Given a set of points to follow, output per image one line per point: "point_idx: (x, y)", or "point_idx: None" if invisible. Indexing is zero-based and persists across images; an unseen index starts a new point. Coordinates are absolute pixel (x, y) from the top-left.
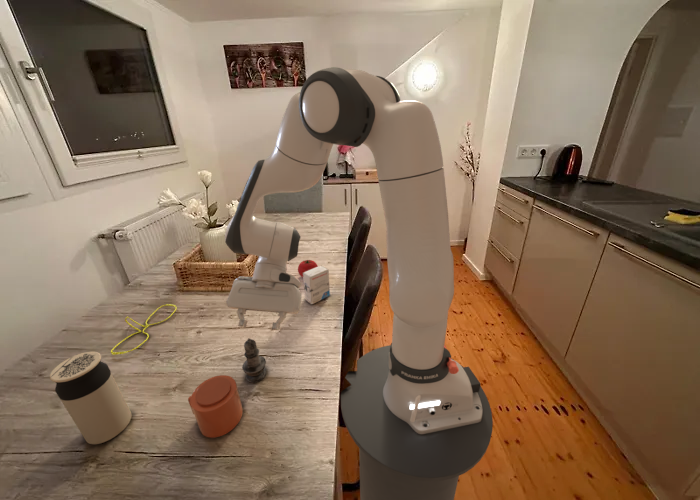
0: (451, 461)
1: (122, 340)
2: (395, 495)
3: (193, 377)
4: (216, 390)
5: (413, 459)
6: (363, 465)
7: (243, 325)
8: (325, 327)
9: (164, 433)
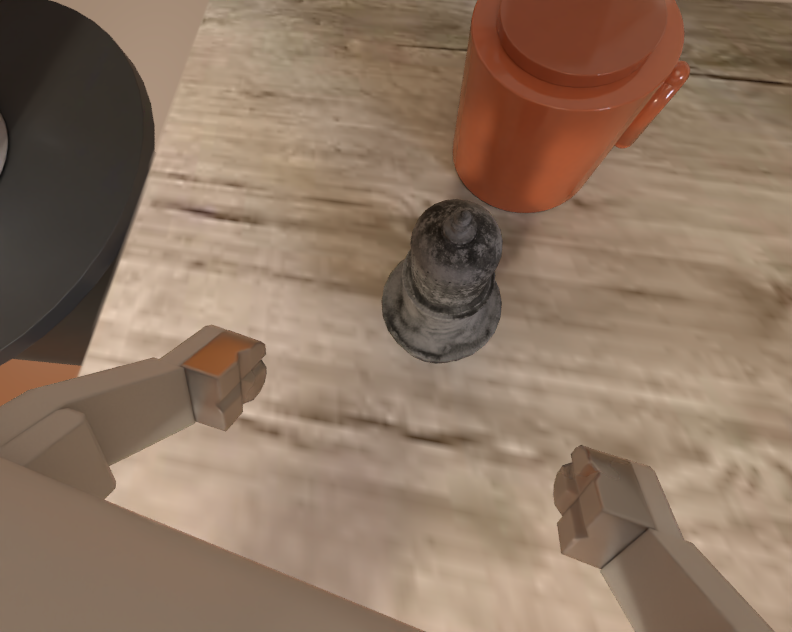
0: None
1: None
2: None
3: (732, 346)
4: (563, 6)
5: (24, 23)
6: None
7: (584, 449)
8: None
9: (694, 122)
